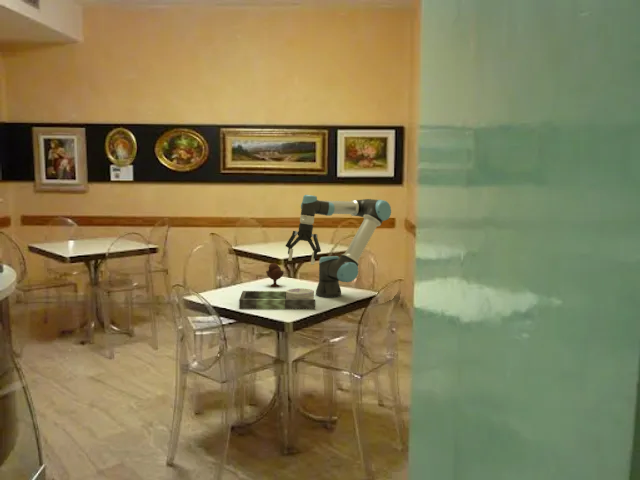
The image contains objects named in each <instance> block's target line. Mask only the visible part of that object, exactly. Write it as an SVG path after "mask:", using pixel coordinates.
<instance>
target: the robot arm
mask: <svg viewBox="0 0 640 480" xmlns="http://www.w3.org/2000/svg"><path fill="white" fill-rule="evenodd" d="M300 210H301V211H300V218H299V224H298V225H299V226H298V231H297V230H293V231H292V234H291V236H290V238H289V239H288V241H287V242H286V244H285V248H287V255H288V262H289V261H292V260H293V254H294V246H296V245H297V244H298V243H299V242H300V241H304V242H307V243H308V244H309V245H310V247H311V249H312V251H313V252H312V253H311V259H310V265H315V262H316V260H315V259H317V257H318V253H320V252H322V249H321V246H320V243H319V240H318V234H317V233H313V231H314V225H313V224H314V223H315V216H316V215H318V216H319V215H322V216H326V217H327V216H332V215H351V216H352V217H361V218H363V221H362V223H361V224H360V226H359V228H358V229H357V231H356V233H355V235H354V236H353V238H352V240H351V241H350V244H349V245H348V247H347V249H346V251H345V252H344V253H343V254H340V256H337V255H331V256H321V257H319V262H318V265H319V267H318V269H319V270H318V283H317V286H316V288H315V289H316V290H315V296H317V297H321V298H339V297H341V296H342V290H341V285H340V283H341V282H342V283H351V282H353V281H355V279H356V278H357V277H358V275H359V267H358V266H359V259H360V258H361V256H362V254H363V253H364V250H365V248H366V247H367V245H368V243H369V241H370V239H371V238H372V236H373V235H374V232H375V231H376V229H377V227H380V226H381V225H382V224H383V222H384V221H387V220H389V219H390V217H391V215H392V214H391V213H392V208H391V204H390V203H389V202H388V201H387V200H384V199H373V198H372V199H371V198H363V199H352V200H351V201H350V200H349V201H348V200H347V201H345V200H323V199H322V200H319V199H318V197H317V196H316V195H312V194H305V195H303V198H302V201H301V204H300ZM296 236H297V237H296ZM295 238H296V239H295ZM312 238H313V240H312ZM313 241H314V242H313ZM338 296H339V297H338Z"/></svg>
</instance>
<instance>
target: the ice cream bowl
mask: <svg viewBox="0 0 640 480" xmlns="http://www.w3.org/2000/svg"><path fill="white" fill-rule="evenodd" d="M284 272H285V271H283V270H282V268H281V267H280V265H278V264H277V263H275V262H271V263H270V264H269V265H268V270H266V273H265V274H266V275H267V277H268V278H270V279H271V280H272V281H273V283H272V284H270V287H271V288H279V287H280V285H279V284H277V281H278V280H279V279H282V277H283V276H284V274H285V273H284Z"/></svg>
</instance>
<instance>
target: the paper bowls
mask: <svg viewBox="0 0 640 480" xmlns="http://www.w3.org/2000/svg"><path fill="white" fill-rule="evenodd" d="M285 291H286V299H315V290H313V289H311V288H289V289H286V290H285Z"/></svg>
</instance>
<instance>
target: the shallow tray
mask: <svg viewBox="0 0 640 480" xmlns="http://www.w3.org/2000/svg"><path fill="white" fill-rule="evenodd" d="M286 291H287V290H280V291H279V290H242V292H241V294H240V296H239V299H238V301H239V302H238V303H239V304H238V305H239V307H238V308H239V309H240V310H316V299H315V298H314V299H286Z"/></svg>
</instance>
